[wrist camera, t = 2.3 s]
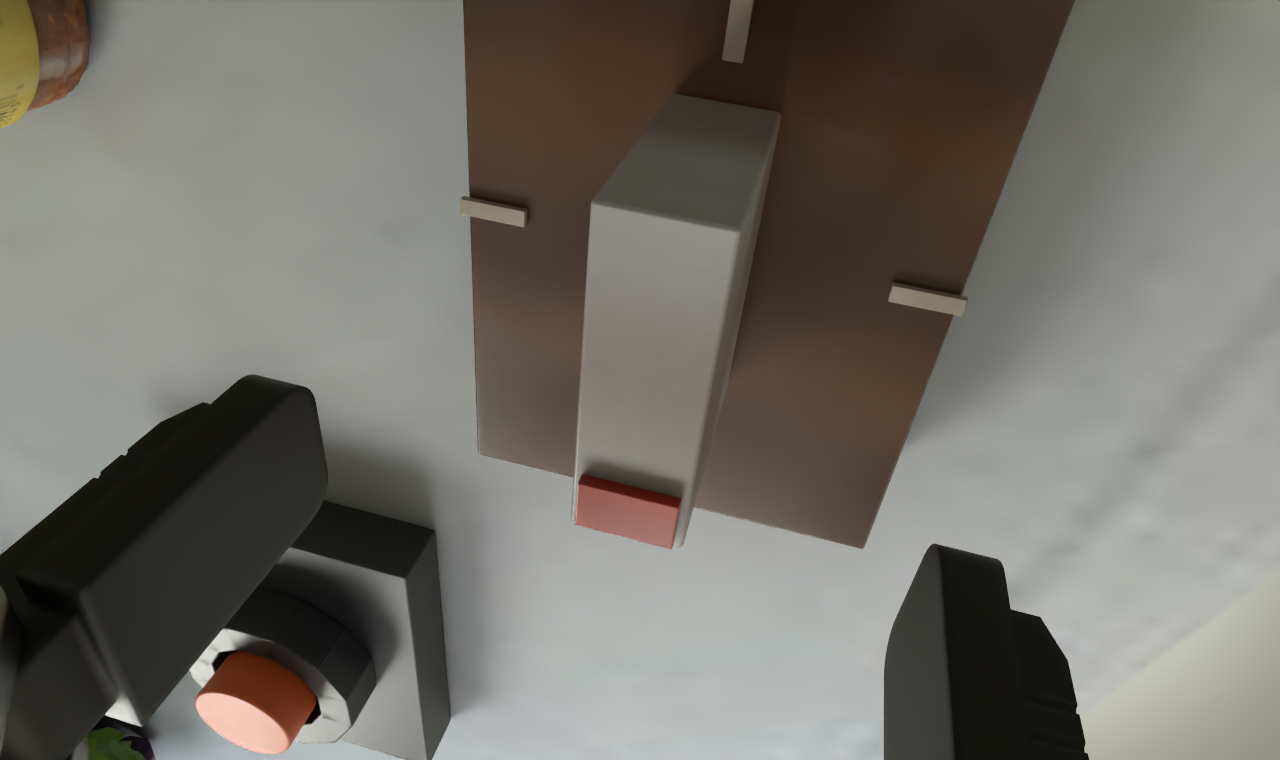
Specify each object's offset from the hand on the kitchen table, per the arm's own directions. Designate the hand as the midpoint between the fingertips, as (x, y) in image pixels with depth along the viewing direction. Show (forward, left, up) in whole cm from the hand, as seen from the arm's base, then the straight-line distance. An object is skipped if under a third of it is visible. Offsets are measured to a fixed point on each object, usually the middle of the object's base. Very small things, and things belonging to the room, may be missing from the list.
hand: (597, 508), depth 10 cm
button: (+20, -13, -7) cm, 25 cm away
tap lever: (0, 0, -7) cm, 7 cm away
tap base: (0, 0, -10) cm, 10 cm away
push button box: (+20, -13, -10) cm, 26 cm away
